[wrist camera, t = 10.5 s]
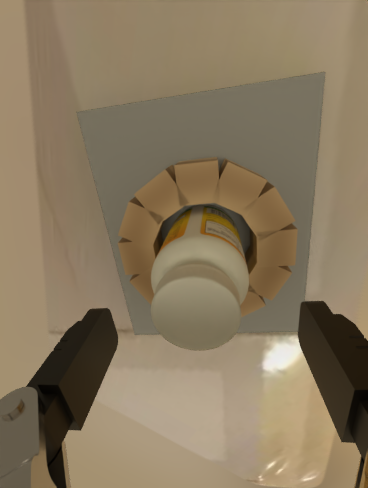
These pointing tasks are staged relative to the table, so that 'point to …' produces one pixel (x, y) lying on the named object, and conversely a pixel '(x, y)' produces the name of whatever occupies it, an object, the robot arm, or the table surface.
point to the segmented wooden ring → (222, 193)
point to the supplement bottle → (199, 280)
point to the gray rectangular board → (221, 146)
